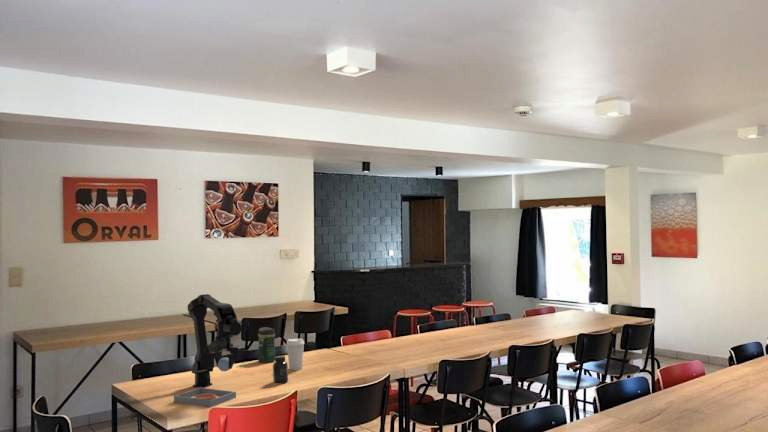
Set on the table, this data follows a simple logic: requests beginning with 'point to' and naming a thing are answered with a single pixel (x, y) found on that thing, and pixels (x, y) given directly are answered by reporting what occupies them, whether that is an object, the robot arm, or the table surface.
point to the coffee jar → (266, 344)
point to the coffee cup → (295, 353)
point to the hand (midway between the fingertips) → (224, 368)
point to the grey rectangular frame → (205, 397)
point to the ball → (223, 364)
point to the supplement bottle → (280, 370)
